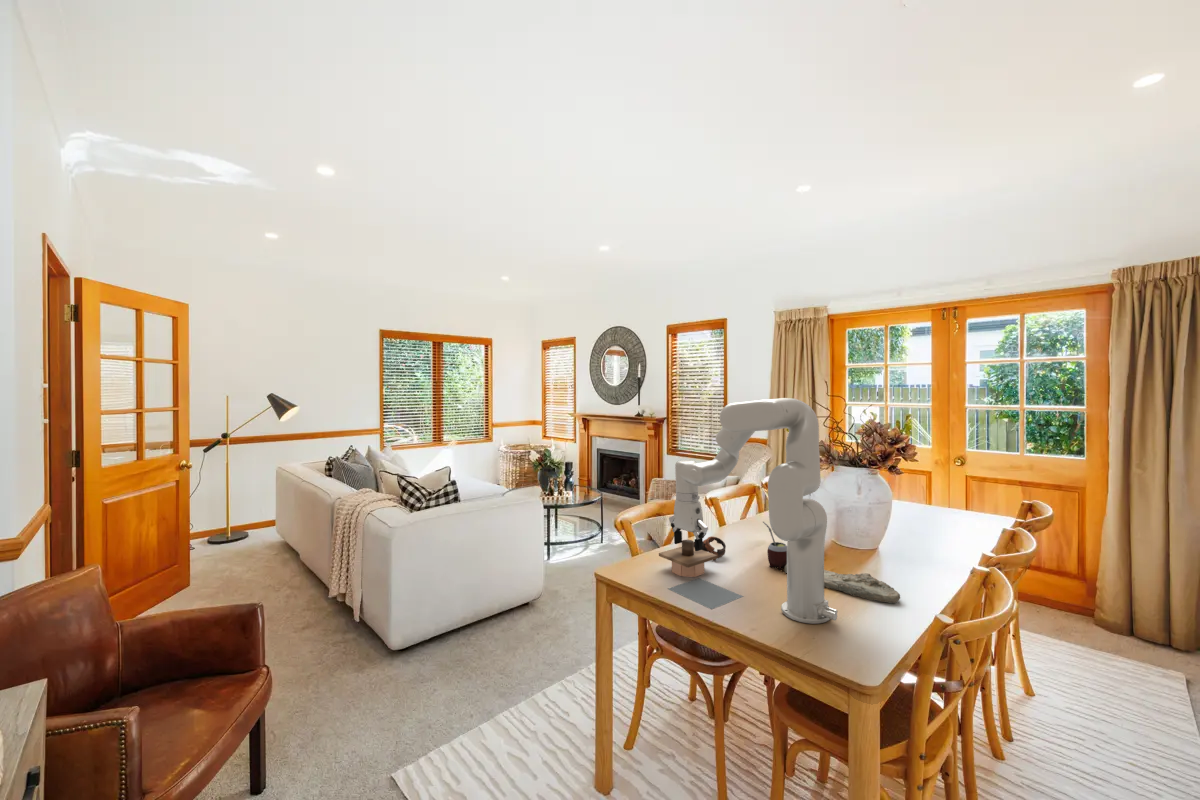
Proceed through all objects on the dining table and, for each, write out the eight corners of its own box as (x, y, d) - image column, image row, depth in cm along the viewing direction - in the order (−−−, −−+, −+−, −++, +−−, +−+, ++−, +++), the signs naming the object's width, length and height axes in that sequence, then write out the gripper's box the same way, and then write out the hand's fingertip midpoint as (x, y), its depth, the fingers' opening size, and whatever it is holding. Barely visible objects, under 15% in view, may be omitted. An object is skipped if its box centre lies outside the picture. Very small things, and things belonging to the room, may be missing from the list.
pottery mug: (717, 552, 190) (725, 536, 186) (722, 571, 182) (730, 555, 178) (687, 545, 189) (694, 529, 185) (690, 564, 181) (698, 548, 177)
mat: (743, 597, 148) (743, 596, 148) (711, 610, 140) (711, 609, 140) (699, 579, 162) (699, 577, 162) (667, 590, 154) (667, 588, 154)
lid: (717, 558, 167) (717, 542, 167) (688, 567, 159) (687, 551, 159) (687, 547, 179) (687, 532, 179) (658, 556, 171) (658, 540, 171)
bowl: (710, 572, 168) (710, 557, 168) (688, 580, 162) (687, 565, 162) (687, 563, 177) (687, 549, 177) (665, 570, 171) (665, 556, 170)
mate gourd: (791, 571, 168) (791, 527, 167) (767, 570, 168) (767, 527, 168) (785, 563, 175) (785, 521, 175) (762, 563, 176) (762, 521, 176)
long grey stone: (793, 571, 172) (778, 580, 165) (792, 556, 172) (777, 564, 165) (906, 597, 145) (893, 609, 139) (904, 579, 145) (891, 591, 139)
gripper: (714, 499, 164) (715, 550, 164) (677, 491, 178) (678, 538, 178) (698, 502, 159) (699, 555, 160) (661, 494, 173) (662, 542, 174)
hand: (688, 546), depth 169 cm, fingers open, 9 cm apart
